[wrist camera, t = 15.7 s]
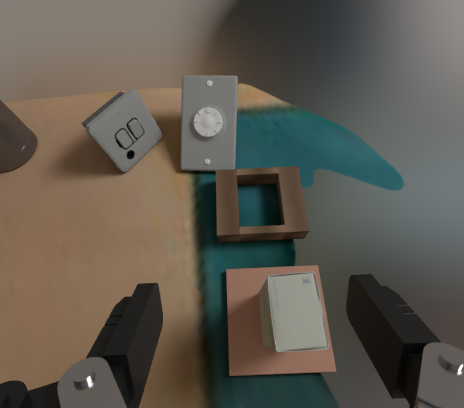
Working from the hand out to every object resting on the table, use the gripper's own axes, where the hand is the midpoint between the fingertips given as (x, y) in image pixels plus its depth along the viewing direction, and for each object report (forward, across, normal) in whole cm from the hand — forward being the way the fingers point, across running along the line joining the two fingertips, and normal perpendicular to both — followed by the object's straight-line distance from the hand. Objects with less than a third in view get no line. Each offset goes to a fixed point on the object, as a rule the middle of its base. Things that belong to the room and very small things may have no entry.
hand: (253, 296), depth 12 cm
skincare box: (+18, -4, +17) cm, 25 cm away
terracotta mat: (+18, -4, +18) cm, 26 cm away
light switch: (+39, +4, -2) cm, 39 cm away
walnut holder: (+29, -3, +7) cm, 30 cm away
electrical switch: (+38, +17, -1) cm, 42 cm away
